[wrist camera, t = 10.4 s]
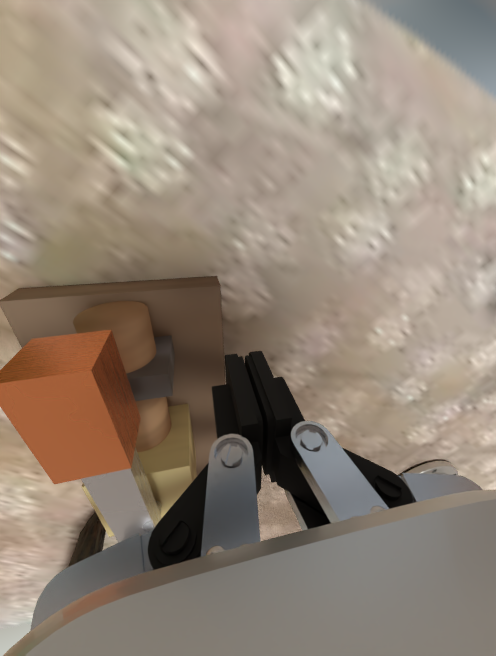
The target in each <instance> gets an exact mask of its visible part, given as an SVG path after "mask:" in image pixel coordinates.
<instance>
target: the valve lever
mask: <svg viewBox="0 0 496 656" xmlns="http://www.w3.org/2000/svg"><path fill="white" fill-rule="evenodd" d="M0 407H1V408H2V410H3V411H4V413H5V414H6V415H7V417H8V418H9V420H10V421H11V423H12V424H13V426H14V427H15V428H16V430H17V431H18V433H19V434H20V436H21V437H22V438H23V440H24V441H25V443H26V444H27V446H28V447H29V449H30V450H31V451H32V453H33V454H34V456H35V457H36V459H37V460H38V461H39V463H40V464H41V466H42V467H43V469H44V470H45V472H46V473H47V474H48V476H49V477H50V479H51V480H52V482H53V483H54V484H58V483H63V482H67V481H72V480H77V479H81V480H82V482H83V483H84V485H85V487H86V488H87V490H88V492H89V493H90V495H91V497H92V498H93V500H94V502H95V504H96V505H97V507H98V509H99V510H100V512H101V514H102V515H103V517H104V519H105V520H106V522H107V524H108V525H109V527H110V529H111V530H112V532H113V534H114V535H115V537H116V539H117V541H118V542H121V541H124V540H126V539H128V538H130V537H132V536H134V535H136V534H138V533H140V535H143V534H145V533H147V532H149V531H151V530H153V529H154V528H155V526H156V525H157V523H158V522H159V521H160V520H161V519H162V517H161V503H160V502H158V501H155V498H154V496H153V493H152V490H151V488H150V485H149V482H148V480H147V477H146V474H145V472H144V469H143V466H142V464H141V461H140V458H139V455H138V453H137V450H136V447H135V446H136V441H137V435H138V430H139V425H140V419H141V417H140V414H139V411H138V408H137V405H136V402H135V399H134V396H133V393H132V390H131V387H130V384H129V381H128V378H127V375H126V372H125V369H124V366H123V363H122V359H121V356H120V353H119V350H118V347H117V344H116V341H115V338H114V335H113V332H112V330H104V331H95V332H87V333H78V334H69V335H61V336H52V337H44V338H35V339H31V340H30V341H29V342H28V343H27V344H26V345H25V346H24V347H23V348H22V349H21V350H20V351H19V352H18V353H17V354H16V355H15V356H14V357H13V358H12V359H11V360H10V361H9V362H8V363H7V364H6V365H5V366H4V367H3V368H2V369H1V370H0Z"/></svg>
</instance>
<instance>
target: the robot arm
mask: <svg viewBox="0 0 496 656" xmlns="http://www.w3.org/2000/svg"><path fill="white" fill-rule="evenodd" d="M225 367H226V385H219V386H212V397H213V407H214V416H215V425H216V433H217V440H216V441H215V442H214V443H213V445H212V446H211V449H210V453H209V463H208V464H207V465H206V466H205V467H204V469H203V470H202V471H201V472H200V473H199V475H198V476H197V477H196V478H195V479H194V480H193V482H192V483H191V484H190V485H189V486H188V488H187V489H186V490H185V491H184V492H183V494H182V495H181V496H180V497H179V498H178V500H177V501H176V502H175V503H174V504H173V505H172V507H171V508H170V509H169V510H168V511H167V513H166V514H165V515H164V516H163V517H162V519H161V520H160V521H159V522H158V523H157V525H156V526H155V528H154V529H153V530H151V531H149V532H147V533H145V534H143V535H140V533H138V534H136V535H134V536H132V537H130V538H128V539H126V540H124V541H121V542H119V543H117V544H115V545H113V546H111V547H109V548H107V549H105V550H103V551H101V552H99V553H97V554H95V555H92V556H90V557H88V558H86V559H84V560H82V561H80V562H78V563H76V564H74V565H72V566H70V567H68V568H66V569H65V570H63V571H62V572H60V573H59V574H57V575H56V576H55V577H54V578H53V579H52V580H51V581H50V582H49V583H48V584H47V586H46V587H45V589H44V590H43V592H42V594H41V595H40V597H39V599H38V601H37V604H36V607H35V610H34V614H33V619H32V625H31V631H30V632H29V633H27V634H26V635H25V636H24V637H23V638H22V639H21V640H20V641H18V642H17V643H16V644H15V645H14V646H13V647H11V648H10V649H9V650H8V651H7V652H6V653H5V654H4V655H3V656H496V490H482V489H481V487H480V486H478V485H477V484H475V483H474V482H473V481H471V480H469V479H467V478H465V477H463V476H458V471H457V470H456V468H455V467H454V466H453V465H452V464H451V463H449V462H447V461H433V462H428V463H425V464H422V465H420V466H417V467H415V468H413V469H411V470H409V471H407V472H406V473H402V474H401V476H398V475H396V474H394V473H393V472H391V471H389V470H387V469H385V468H383V467H381V466H379V465H377V464H375V463H373V462H371V461H369V460H367V459H364V458H362V457H360V456H358V455H356V454H354V453H352V452H350V451H348V450H346V449H344V448H342V447H341V446H340V445H339V444H338V442H337V441H336V440H335V438H334V437H333V436H332V435H331V433H330V432H329V431H328V430H327V429H326V428H325V427H324V426H322V425H321V424H319V423H316V422H313V421H305V420H304V418H303V416H302V414H301V412H300V410H299V408H298V406H297V404H296V402H295V400H294V398H293V396H292V394H291V392H290V390H289V388H288V386H287V384H286V382H285V380H284V379H283V377H277V378H274V377H273V375H272V372H271V370H270V368H269V366H268V364H267V361H266V359H265V357H264V355H263V353H262V351H256V352H250V353H249V356H245V363H244V360H243V357H242V356H241V357H238V355H237V354H231V355H225ZM262 467H263V471H264V474H265V475H267V474H269V475H270V478H271V482H272V483H273V482H277V485H278V486H280V487H282V488H283V489H285V493H286V496H287V498H288V501H289V503H290V505H291V507H292V509H293V511H294V513H295V515H296V517H297V520H298V522H299V524H300V526H301V528H302V530H303V531H300V532H296V533H292V534H288V535H284V536H280V537H276V538H272V539H268V540H265V541H261V542H260V530H259V518H258V505H257V494H258V492H259V491H260V489H261V472H262Z"/></svg>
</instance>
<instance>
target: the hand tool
mask: <svg viewBox="0 0 496 656" xmlns="http://www.w3.org/2000/svg"><path fill="white" fill-rule="evenodd" d="M97 520H98V521H97ZM105 532H106V530H105V528H104V526H103V524H102V523H101V521H100V519H99V517H98V515H97V514H96V513H95V514H94V515H93V516H92V517H91V518H90V520H89V521H88V522H87V524H86V526H85V527H84V529H83V530H82V532H81V533H80V536H79V540H78V543H77V546H76V549H75V551H74V554H73V556H72V559H71V562H70V564H69V567H70V566H72V565H74V564H76V563H78V562H80V561H82V560H84V559H86V558H88V557H90V556H92V555H95V554H97V553H99V552H101V551H102V549H103V543H104V538H105Z"/></svg>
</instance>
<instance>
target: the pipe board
mask: <svg viewBox="0 0 496 656" xmlns="http://www.w3.org/2000/svg"><path fill="white" fill-rule="evenodd" d="M0 306H1V308H2V310H3V312H4V314H5V316H6V318H7V320H8V322H9V324H10V325H11V327H12V329H13V331H14V333H15V335H16V337H17V339H18V341H19V343H20V345H21V347H22V348H23V347H24V346H25V345H26V344H27V343H28V342H29V341H30V340H31V339H35V338H44V337H52V336H61V335H69V334H78V333H87V332H95V331H104V330H112V332H113V335H114V338H115V341H116V344H117V347H118V350H119V353H120V356H121V359H122V363H123V366H124V369H125V372H126V375H127V378H128V381H129V384H130V387H131V390H132V393H133V396H134V399H135V402H136V405H137V408H138V411H139V414H140V417H141V419H140V425H139V430H138V435H137V441H136V446H135V447H136V450H137V453H138V455H139V458H140V461H141V464H142V466H143V469H144V472H145V474H146V477H147V480H148V482H149V485H150V488H151V490H152V493H153V496H154V498H155V501H158V502H160V503H161V517H163V516H164V515H165V514H166V513H167V511H168V510H169V509H170V508H171V507H172V505H173V504H174V503H175V502H176V501H177V500H178V498H179V497H180V496H181V495H182V494H183V492H184V491H185V490H186V489H187V488H188V486H189V485H190V484H191V483H192V482H193V480H194V479H195V478H196V477H197V476H198V475H199V473H200V472H201V471H202V470H203V469H204V467H205V466H206V465H207V464H208V463H209V453H210V449H211V446H212V445H213V443H214V442H215V441H216V440H217V433H216V425H215V416H214V407H213V397H212V386H219V385H225V367H224V348H223V329H222V310H221V291H220V284H219V281H218V278H217V276H211V277H195V278H179V279H164V280H148V281H132V282H116V283H100V284H85V285H69V286H53V287H37V288H21V289H17V290H16V291H14V292H13V293H11V294H9V295H8V296H6V297H5V298H3V299H1V300H0ZM82 488H83V490H84V492H85V494H86V496H87V497H88V499H89V501H90V503H91V505H92V506H93V508H94V510H95V512H96V514H97V515H98V517H99V519H100V521H101V523H102V524H103V526H104V528H105V530H106V532H107V533H108V535H109V537H111V536H115V535H114V534H113V532H112V530H111V529H110V527H109V525H108V524H107V522H106V520H105V519H104V517H103V515H102V514H101V512H100V510H99V509H98V507H97V505H96V504H95V502H94V500H93V498H92V497H91V495H90V493H89V492H88V490H87V488H86V487H85V485H84V483H83V485H82Z"/></svg>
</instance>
